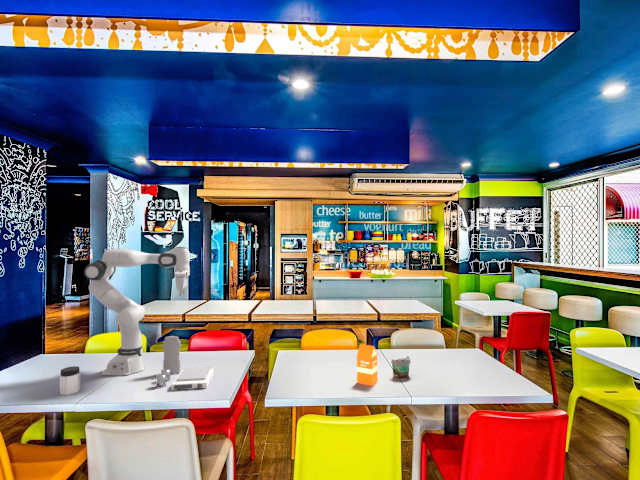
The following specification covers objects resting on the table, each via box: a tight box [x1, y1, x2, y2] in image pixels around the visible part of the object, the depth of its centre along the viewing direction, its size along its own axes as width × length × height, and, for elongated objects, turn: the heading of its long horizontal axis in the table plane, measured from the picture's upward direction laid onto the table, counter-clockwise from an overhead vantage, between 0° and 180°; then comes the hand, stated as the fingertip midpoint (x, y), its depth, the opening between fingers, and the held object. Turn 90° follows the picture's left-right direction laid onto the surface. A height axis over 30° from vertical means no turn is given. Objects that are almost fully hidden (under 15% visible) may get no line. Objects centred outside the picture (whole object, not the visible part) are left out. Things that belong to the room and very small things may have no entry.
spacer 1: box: [160, 368, 171, 383], centre depth 201 cm, size 5×5×6 cm
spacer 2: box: [156, 373, 167, 388], centre depth 194 cm, size 5×5×6 cm
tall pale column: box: [162, 335, 182, 375], centre depth 213 cm, size 11×4×22 cm, turn 93°
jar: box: [59, 365, 81, 396], centre depth 187 cm, size 9×8×12 cm
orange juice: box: [356, 343, 378, 386], centre depth 197 cm, size 8×9×20 cm
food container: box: [390, 355, 411, 379], centre depth 203 cm, size 12×6×10 cm, turn 117°
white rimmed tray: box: [170, 366, 215, 391], centre depth 199 cm, size 18×22×4 cm
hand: (182, 295), depth 222 cm, fingers open, 8 cm apart
